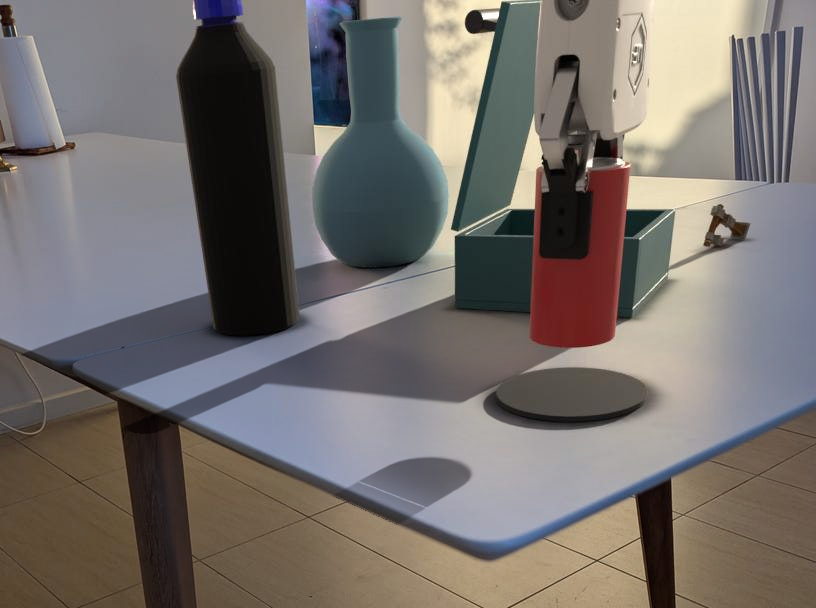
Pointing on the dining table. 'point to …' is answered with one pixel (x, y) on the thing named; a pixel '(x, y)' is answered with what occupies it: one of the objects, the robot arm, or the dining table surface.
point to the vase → (378, 164)
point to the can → (583, 268)
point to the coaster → (571, 394)
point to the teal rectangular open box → (513, 256)
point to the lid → (500, 110)
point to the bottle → (238, 174)
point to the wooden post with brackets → (720, 217)
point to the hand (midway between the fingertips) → (578, 244)
